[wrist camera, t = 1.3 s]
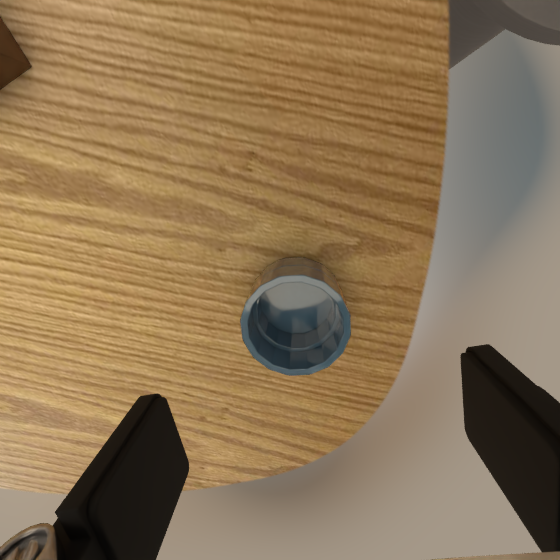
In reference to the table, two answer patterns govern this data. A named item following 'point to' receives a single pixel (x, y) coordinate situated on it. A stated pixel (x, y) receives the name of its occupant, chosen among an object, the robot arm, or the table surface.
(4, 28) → the stand
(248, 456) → the table surface
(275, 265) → the small cup
